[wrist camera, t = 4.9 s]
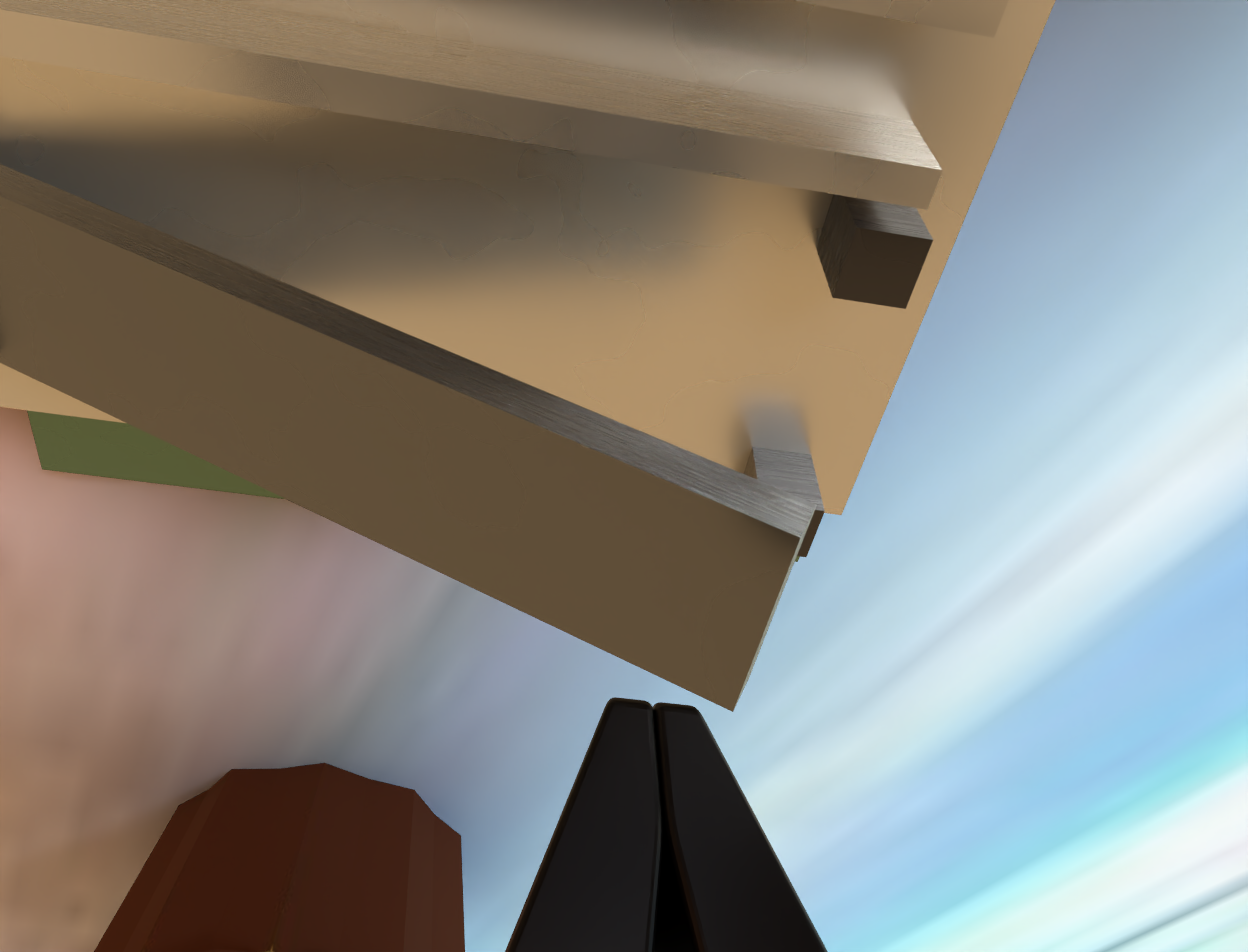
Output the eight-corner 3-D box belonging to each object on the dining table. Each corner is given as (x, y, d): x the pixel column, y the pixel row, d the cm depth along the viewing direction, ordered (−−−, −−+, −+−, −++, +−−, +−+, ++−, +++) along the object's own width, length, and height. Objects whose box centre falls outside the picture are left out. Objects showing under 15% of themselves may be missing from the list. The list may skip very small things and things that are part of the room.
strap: (-31, 313, 15) (-101, 345, 14) (-82, 129, 13) (-165, 153, 12) (749, 677, 12) (718, 743, 11) (816, 504, 10) (785, 567, 9)
